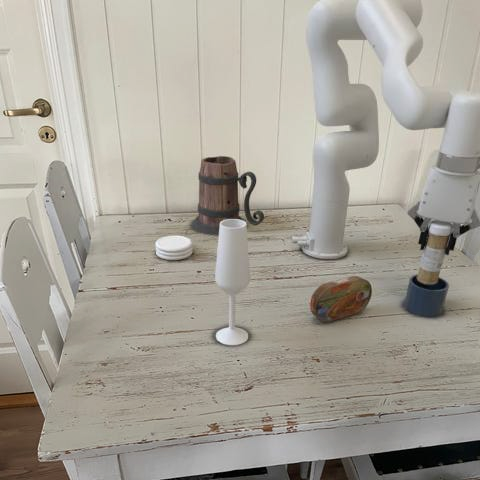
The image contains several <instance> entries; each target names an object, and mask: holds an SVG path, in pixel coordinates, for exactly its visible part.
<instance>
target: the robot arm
mask: <svg viewBox="0 0 480 480" xmlns="http://www.w3.org/2000/svg"><path fill="white" fill-rule="evenodd" d="M312 6H313V7H312V8H311V9H310V12H309V14H308V17H307V21H306V26H305V42H306V47H307V51H308V55H309V60H310V65H311V71H312V84H313V87H312V88H313V97H314V109H315V110H314V111H315V116H316V120H317V122H318V124H320V125H321V126H323V127H342V126H348V127H349V130H343V131H342V130H341V131H333V132H328V133H325V134H323V135H321V136H320V137H318V138H317V139H316V141H315V142H314V144H313V147H312V163H313V164H312V166H313V187H312V198H311V208H310V220H309V229H308V230H309V231H306V233H305V234H303V235H302V236H297V235H296V236H291V244H297V247H301V251H302V252H303V253H304V254H306V255H307V256H309V257H311V258H315V259H319V260H336V259H341V258H343V257H345V256H346V255H347V254H348V246H347V245H346V244H345V243H344V236H345V229H346V222H347V214H348V209H349V208H348V207H349V199H350V192H351V191H350V190H351V189H350V188H351V187H350V183H349V180H348V178H347V176H346V172H347V171H352V170H353V171H354V170H359V169H365V168H368V167H370V166H371V165H373V164H374V163H375V162H376V160H377V158H378V155H379V150H380V133H379V132H380V131H379V130H380V129H379V107H378V101H377V96H376V95H375V93H374V90H373V89H372V87H370V86H369V85H368V84H364V83H351V82H350V76H349V63H348V59H347V57H346V55H345V53H344V51H343V49H342V48H341V46H340V45H339V43H338V42H339V41H367V42H368V44H369V45H370V47H371V49H372V50H373V52H374V53H375V54H376V56H377V58H378V59H379V62H380V63H381V64H382V66H383V68H382V71H381V80H380V81H381V86H380V87H381V94H382V98H383V100H384V103H385V104H386V106H387V108H388V109H389V110H390V112H391V114H392V116H393V117H394V119H395V120H396V121H397V123H398V124H399V125H400V126H401V127H403V128H405V129H406V130H410V131H421V130H430V129H443V130H444V131H443V133H442V139H441V143H440V147H439V151H438V155H437V160H436V164H433V165H432V166H431V167H430V171H429V173H428V174H427V178H426V181H425V184H424V186H423V191H422V193H421V197H420V198H419V200H418V201H416V202H415V203H414V204H413V205H412V206H411V207H409V208H408V210H407V211H406V213H407V215H408V216H409V217H410V218H411V219H412V220H413V221H414V223H415V224H416V225H417V227H418V228H419V231H420V234H419V238H418V241H417V245H420V247H419V251H424V248H425V244H426V241H427V236H428V229H429V225H430V222H431V221H434V220H439V221H445V222H450V223H451V224H452V225H453V229H452V233H451V234H450V237H449V240H448V244H447V249H446V253H445V256H449V255H450V251H451V252H454V251H455V248H456V244H457V240H458V238H459V237H460V236H462V235H464V234H466V233H467V232H469V231H470V230H474V229H476V228H478V227H480V216H479V214H478V212H477V209H476V208H475V205H476V201H477V198H478V193H479V188H480V91H479V92H478V91H469V90H467V89H464V88H462V87H459V86H455V85H431V86H420V85H419V83H418V82H417V80H415V78H414V76H413V75H412V73H411V71H410V69H409V66H411V65H412V64H413V63H414V62H415V61H416V59H417V58H418V57H419V56H420V54H421V52H422V50H423V47H424V39H423V35H422V34H421V33H420V32H419V30H418V29H417V28H418V27H419V26H420V23H421V21H422V17H423V12H424V11H423V4H422V0H318V1H317V2H316V3H315V4H314V5H312ZM470 220H471V221H470Z"/></svg>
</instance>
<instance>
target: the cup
mask: <svg viewBox="0 0 480 480" xmlns="http://www.w3.org/2000/svg"><path fill="white" fill-rule="evenodd" d="M417 276H418V273H417V274H414V275H412V276H410V277H409V279H408V284H407V288H406V293H405V298H404V304H403V306H404V308H405V310H407V312H409V313H410V314H412V315H415V316H417V317H418V316H419V317H421V318H422V317H423V318H434V317H435V318H436V317H438V316H440V315H441V314H443V313H442V312H443V310H444V307H445V303H446V299H447V295H448V291H449V288H450V285H449V284H450V283H448V281H447V280H446V279H444V278H442V277H440V276H439V277H438V282H437V283H436V284H434V285H426V284H423V283H421V282H419V281H418V280H417Z"/></svg>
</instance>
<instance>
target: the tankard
mask: <svg viewBox="0 0 480 480" xmlns="http://www.w3.org/2000/svg"><path fill="white" fill-rule="evenodd" d="M248 177H249V178H250V186H249V188H248V185H247V182H248ZM239 185H240V187H241V188H242V189H244V190H245V189H247V188H248V190H247V191H246V193H245V195H244V200H243V211H244V215H245V219H246V221H247V222H248V223H249V224H250V225H251V226H254V227H255V226H259V225H260V224H261V223H263V222H264V220H265V214H264V212H263V211H262V210H258V209H257V210H256V211H255V212H253V214H251V210H250V199H251V195H252V192H254V189H255V188H256V185H257V176H256V174H255V173H254V172H252V171H246V172H244V173H242V174H241V175H240V176H239V172H238V168H237V161H236V159H234V158H233V157H230V156H225V155H219V156H208V157H204V158H201V161H200V168H199V171H198V204H197V211H198V216H196V218H195V219H194V221H193V222H192V223H191V227H192V229H193V230H194V231H197V232H199V233H202V234H206V235H213V236H215V235H216V236H219V227H220V222H221V221H223V220H227V219H239V220H242V221H244V220H243V218H242V217H241V216H240V203H239ZM257 216H258V217H257Z"/></svg>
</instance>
